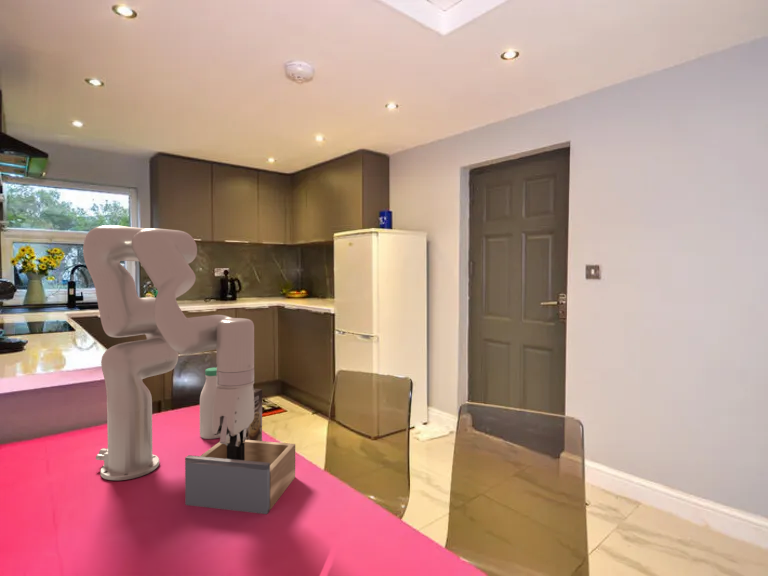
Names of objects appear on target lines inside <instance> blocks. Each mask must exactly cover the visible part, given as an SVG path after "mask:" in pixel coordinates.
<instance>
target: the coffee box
mask: <svg viewBox="0 0 768 576" xmlns="http://www.w3.org/2000/svg"><path fill="white" fill-rule="evenodd" d="M253 390H254V420H253V422H252V423H251V424H250V425H249V427H248V428H247V431H246V440H255V441H263V389H262V388H253Z"/></svg>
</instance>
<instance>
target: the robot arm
mask: <svg viewBox="0 0 768 576" xmlns="http://www.w3.org/2000/svg"><path fill="white" fill-rule="evenodd" d="M82 245H83V247H82V251H83V252H82V254H83V260H84V263H85V265H86V268H87V271H88V273H89V274H90V277H91V279H92V282H93V285H94V290H95V296H96V301H97V307H98V312H99V317H100V322H101V326H102V329H103V331H104V333H105V334H106V335H107V336H108V337H111V338H128V337H135V336H141V335H142V336H143V335H145V337H146V339H138V340H134V341H133V340H132V341H126V342H121V343H117V344H115V345H112V346H111V347H109V348H107V350H105V351H104V353H103V355H102V356H101V360H100V362H101V363H100V364H101V365H100V366H101V372H102V375H103V379H104V383H105V389H106V390H105V391H106V392H105V393H106V410H107V411H106V414H107V415H106V416H107V417H106V418H107V420H106V421H107V424H106V425H107V426H106V427H107V431H106V432H107V448H104V447H103V448H101V449H100V450H99V451H98V453H97V454H96V456H95V460H97V461H103V466H102V467H101V468H100V470H99V471H100V476H101V478H103V479H104V480H108V481H127V480H131V479H136V478H140V477H142V476H145V475H148V474H150V473H151V472H153V471H155V470H157V468H158V467H159V466H160V457H158V455H156V454H153V400H152V398H153V397H152V394H151V391H150V390H149V388H148V387H147V386H146V384H145V383H144V382H143V381H144V380H143V379H147V378H149V377H153V376H154V377H155V376H157V375H159V376H160V375H162V374H166V373H168V372H171V371H173V369H175V368H176V367H177V364H178V361H179V354H180V355H187V356H188V355H194V354H198V353H203V352H207V351H214V350H216V368H217V386H218V387H217V388H216V392H215V398H214V407H213V427H212V430H213V434H214V435H218V434H219V433H221V437H220V438H219V442H220V443H221V444H226V446H227V459H235V460H245V443H243V442H245V440H246V431H247V428H248V427H249V425H250V424H251V423H252V422H253V420H254V390H253V389H254V384H255V324H254V322H253V320H252V319H249V318H244V317H243V318H242V317H231V316H228V315H225V314H212V315H201V316H194V317H193V316H192V317H187V316H186V315H185V314H184V312H183V311H182V309H181V308H180V305H179V304H178V301H177V298H179V297H181V296H182V295H184V294H185V293H187V292H188V291H190V290H191V288H192V287H193V286H194V285H195V282H196V277H197V276H196V274H195V272H194V270H193V269H192V268H191V266H190V264H191V263H192V262H193V261H194V260H196V258H197V255H198V245H197V243H196V241H195V239H194V237H193V236H192V235H191V234H190V233H188V232H186V231H183V230H179V229H167V228H159V227H158V228H154V227H153V228H152V227H151V228H144V227H136V226H135V227H134V226H124V225H111V224H109V225H100V226H96V227H94V228H92V229H90V230H89V231H88V232H87V234H86V235H85V237H84V242H83V244H82ZM121 262H139V263H140V265H141V267H142V268H143V270H144V272H145V273H146V275H147V276H148V277H149V279H150V280H151V282H152V284H153V285H154V287H155V289H156V290H157V294H156V297H152V296H151V297H150V296H149V297H140V296H139V295H138V293H137V289H136V282H135V279H134V278H133V276H132V275H131V273H130V272H129V271H128V270H127V268H126V267H125V266H124V265H122V264H121Z"/></svg>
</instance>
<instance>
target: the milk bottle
mask: <svg viewBox="0 0 768 576" xmlns="http://www.w3.org/2000/svg"><path fill="white" fill-rule="evenodd" d="M204 371H205V373H204V375H205V376H204V377H205V383H204V385H203V387H202V390H201V392H200V396H199V436H200V438H201V439H205V440H214V439H220V437H221V433H219V434H218V435H214V434H213V430H212V427H213V407H214V398H215V392H216V388H217V387H218V386H217V367H209V368H206V369H205V370H204Z"/></svg>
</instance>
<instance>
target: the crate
mask: <svg viewBox="0 0 768 576" xmlns="http://www.w3.org/2000/svg"><path fill="white" fill-rule="evenodd" d="M243 443H245V461H256V462H267V463H270V511H271V510H272V508H273V507H274V506H275V504H276V503H277V502H278V501H279V499H280V498H281V496H283V494H284V493H285V491H286V490H288V489H287V488H289V486H290V485H291V484H292V482H293V481H294V480H295V479H296V443H288V442H287V443H286V442H277V441H276V442H274V441H267V440H265V441H263V440H262V441H255V440H245V442H243ZM200 456H203V457H213V458H224V459H227V446H226V444H221V443H220V441H219V442H217V443H216V444H214V445H213V446H212V447H210V448H209V449H207V450H206V451H205V452H204V453H202V454H201V455H200Z"/></svg>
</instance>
